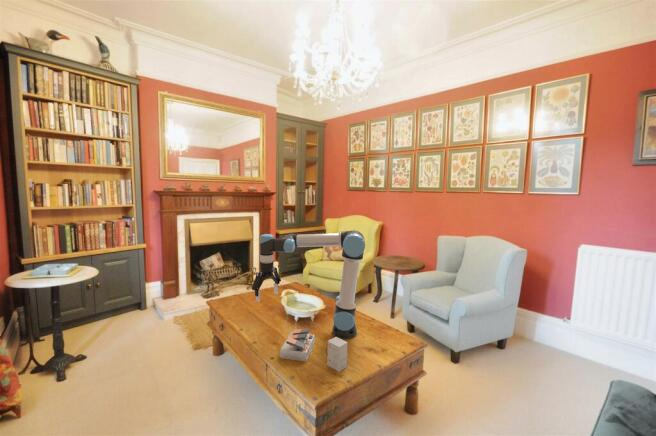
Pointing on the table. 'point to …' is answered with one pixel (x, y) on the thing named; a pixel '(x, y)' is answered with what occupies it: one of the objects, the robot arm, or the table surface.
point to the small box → (337, 354)
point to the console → (298, 349)
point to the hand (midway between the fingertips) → (267, 297)
